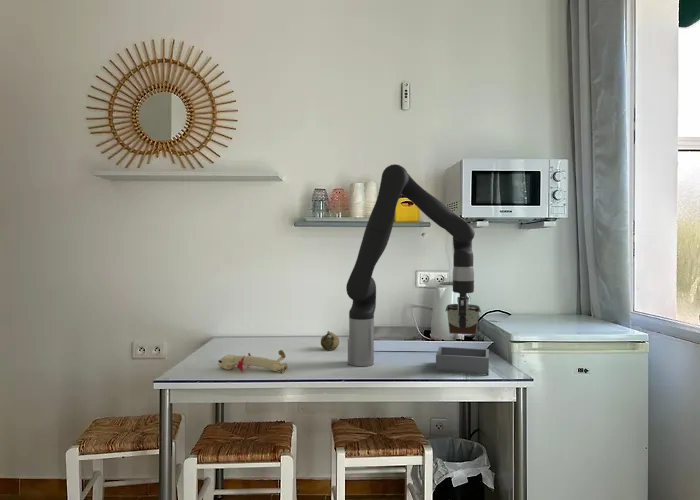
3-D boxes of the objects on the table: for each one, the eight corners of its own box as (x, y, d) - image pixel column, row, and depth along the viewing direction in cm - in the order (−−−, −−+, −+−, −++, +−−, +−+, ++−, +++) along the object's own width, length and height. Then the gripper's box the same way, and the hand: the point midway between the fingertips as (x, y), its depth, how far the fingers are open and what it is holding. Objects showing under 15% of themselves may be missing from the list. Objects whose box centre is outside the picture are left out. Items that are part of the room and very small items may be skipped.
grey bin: (435, 371, 191) (435, 355, 191) (439, 362, 205) (439, 346, 204) (488, 375, 187) (488, 358, 186) (488, 365, 200) (488, 349, 200)
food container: (480, 331, 197) (480, 304, 197) (480, 334, 191) (481, 306, 191) (445, 330, 200) (446, 303, 199) (445, 333, 194) (445, 305, 193)
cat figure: (288, 371, 197) (224, 363, 201) (290, 348, 196) (225, 339, 201) (280, 379, 187) (212, 369, 192) (282, 354, 187) (214, 345, 191)
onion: (343, 349, 226) (343, 330, 225) (326, 352, 221) (326, 332, 221) (333, 346, 232) (333, 328, 232) (317, 349, 227) (317, 330, 227)
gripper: (473, 281, 186) (473, 330, 187) (474, 277, 200) (474, 323, 201) (451, 280, 188) (450, 329, 189) (453, 277, 202) (453, 322, 203)
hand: (462, 325), depth 195 cm, fingers closed on food container, 5 cm apart
